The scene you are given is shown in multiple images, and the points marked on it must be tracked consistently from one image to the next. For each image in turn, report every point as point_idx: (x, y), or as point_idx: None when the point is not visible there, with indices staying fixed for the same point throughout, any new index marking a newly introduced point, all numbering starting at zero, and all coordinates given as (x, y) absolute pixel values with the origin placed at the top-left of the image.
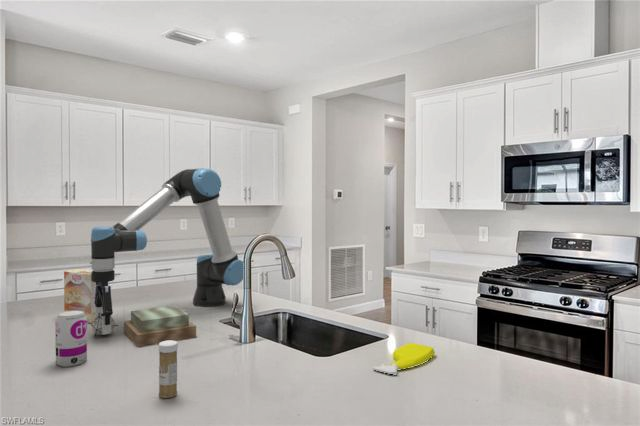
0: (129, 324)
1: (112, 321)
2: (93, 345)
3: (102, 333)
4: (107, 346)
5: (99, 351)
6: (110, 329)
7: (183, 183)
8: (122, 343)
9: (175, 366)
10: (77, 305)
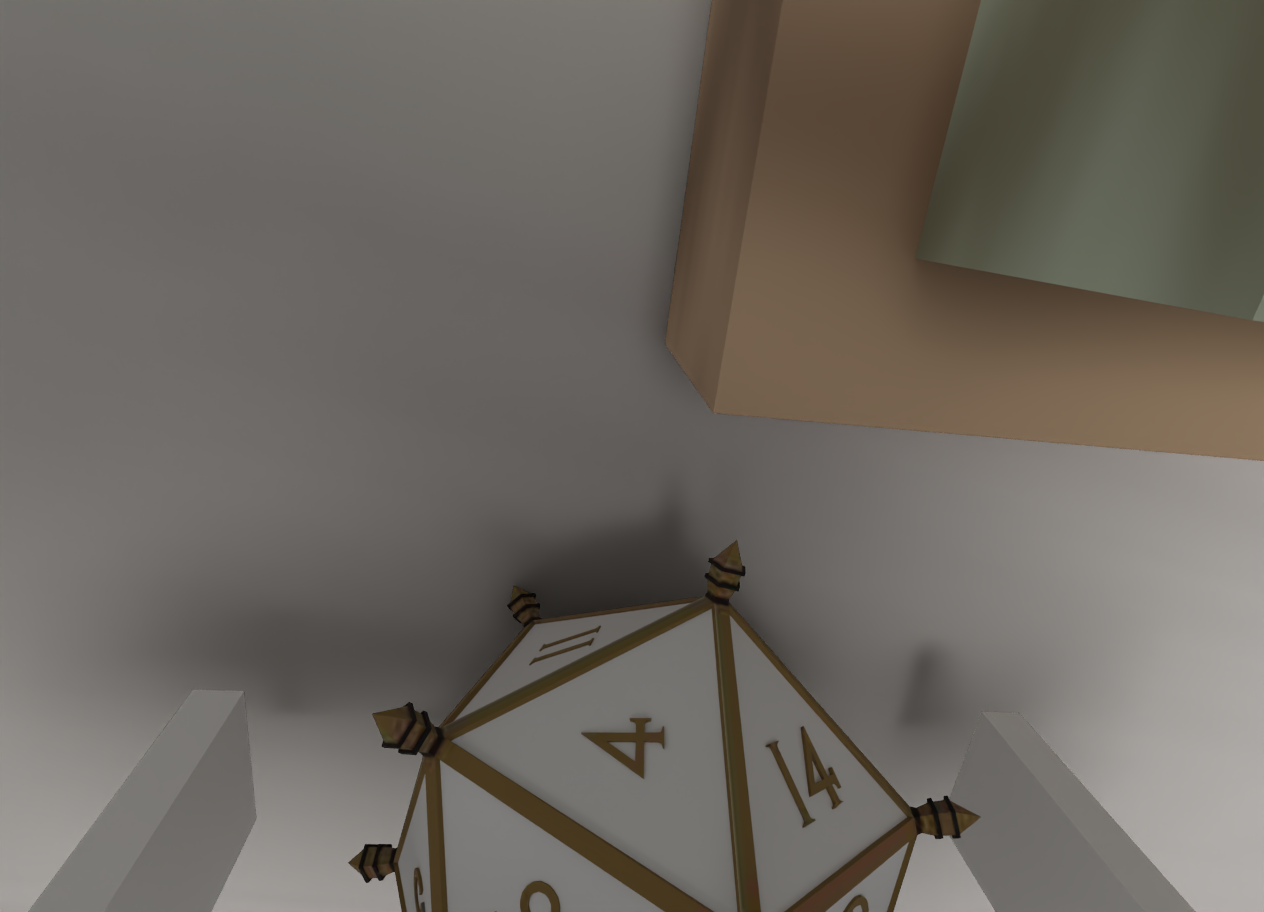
0: (1128, 392)
1: (786, 754)
2: None
3: None
4: (1176, 730)
5: (1260, 825)
6: (1067, 783)
7: None
8: (1240, 554)
9: None
10: None
